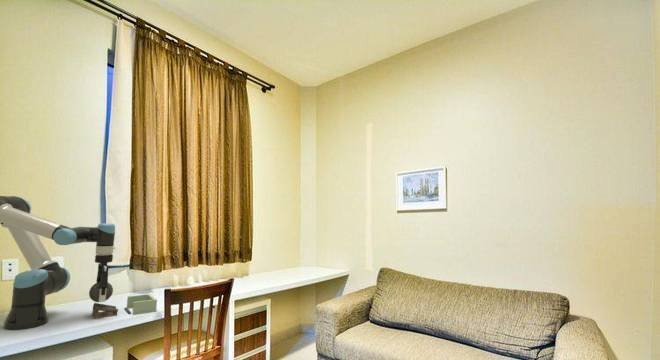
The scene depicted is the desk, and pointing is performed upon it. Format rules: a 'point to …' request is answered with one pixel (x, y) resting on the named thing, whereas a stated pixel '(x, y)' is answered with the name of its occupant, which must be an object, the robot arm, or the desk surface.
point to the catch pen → (142, 303)
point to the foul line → (127, 310)
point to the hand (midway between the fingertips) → (100, 299)
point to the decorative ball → (95, 291)
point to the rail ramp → (104, 310)
